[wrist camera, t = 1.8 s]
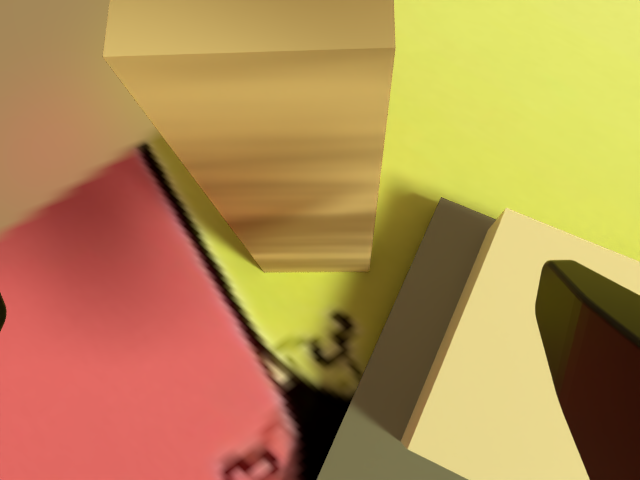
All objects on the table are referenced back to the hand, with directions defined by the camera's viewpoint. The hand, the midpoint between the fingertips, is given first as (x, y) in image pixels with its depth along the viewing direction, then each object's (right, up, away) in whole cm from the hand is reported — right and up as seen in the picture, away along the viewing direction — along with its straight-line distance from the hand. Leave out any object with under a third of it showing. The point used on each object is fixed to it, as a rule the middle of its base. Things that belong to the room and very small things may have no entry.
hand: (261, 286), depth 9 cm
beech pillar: (+1, +2, +12) cm, 13 cm away
